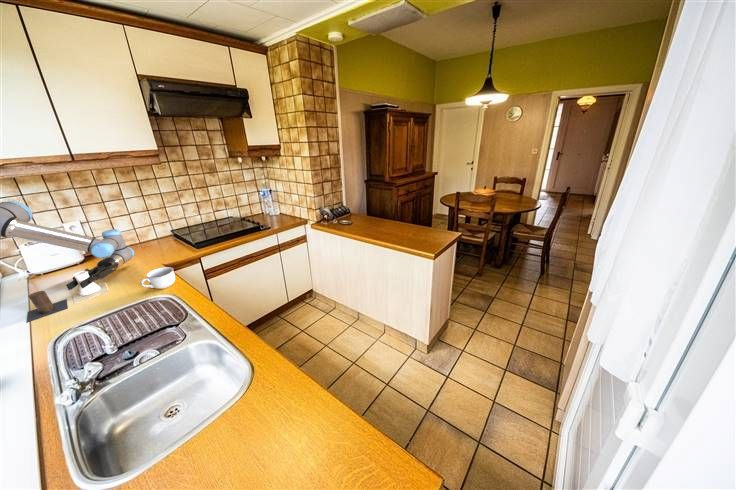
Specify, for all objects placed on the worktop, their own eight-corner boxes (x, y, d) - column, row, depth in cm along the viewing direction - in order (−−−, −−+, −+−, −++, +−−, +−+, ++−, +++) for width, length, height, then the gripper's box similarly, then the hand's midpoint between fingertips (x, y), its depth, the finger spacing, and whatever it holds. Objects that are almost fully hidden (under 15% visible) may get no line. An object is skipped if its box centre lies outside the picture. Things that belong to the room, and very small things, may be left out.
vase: (83, 296, 124) (73, 278, 120) (76, 293, 127) (65, 275, 123) (103, 288, 130) (94, 270, 126) (96, 285, 133) (86, 268, 129)
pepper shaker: (40, 311, 115) (28, 294, 112) (55, 306, 118) (44, 289, 115) (39, 315, 112) (27, 298, 109) (55, 310, 116) (44, 293, 112)
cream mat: (72, 293, 130) (71, 291, 130) (105, 282, 138) (104, 281, 138) (74, 305, 120) (73, 303, 120) (109, 293, 128) (108, 291, 128)
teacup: (174, 277, 139) (168, 264, 136) (181, 284, 133) (175, 270, 129) (141, 290, 129) (135, 275, 126) (147, 297, 123) (141, 282, 120)
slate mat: (28, 313, 116) (27, 311, 116) (67, 300, 124) (66, 298, 124) (27, 324, 109) (26, 322, 108) (68, 310, 117) (67, 308, 116)
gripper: (131, 267, 145) (100, 290, 124) (94, 272, 143) (56, 296, 121) (125, 255, 142) (92, 276, 121) (88, 259, 140) (48, 282, 118)
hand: (75, 286), depth 121 cm, fingers closed on vase, 5 cm apart
